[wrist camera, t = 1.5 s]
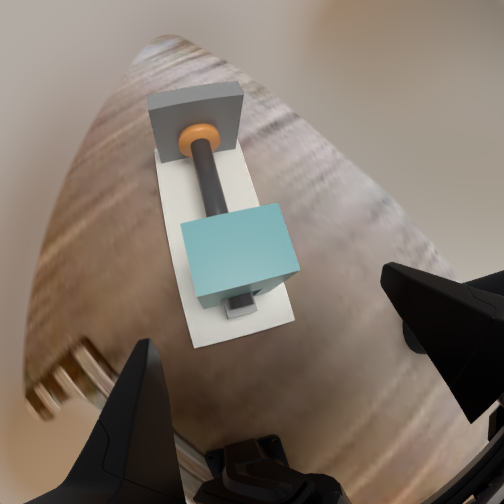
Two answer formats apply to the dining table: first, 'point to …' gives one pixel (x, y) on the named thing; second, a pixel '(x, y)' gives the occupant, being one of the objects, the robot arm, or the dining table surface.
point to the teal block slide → (208, 199)
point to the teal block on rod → (238, 253)
